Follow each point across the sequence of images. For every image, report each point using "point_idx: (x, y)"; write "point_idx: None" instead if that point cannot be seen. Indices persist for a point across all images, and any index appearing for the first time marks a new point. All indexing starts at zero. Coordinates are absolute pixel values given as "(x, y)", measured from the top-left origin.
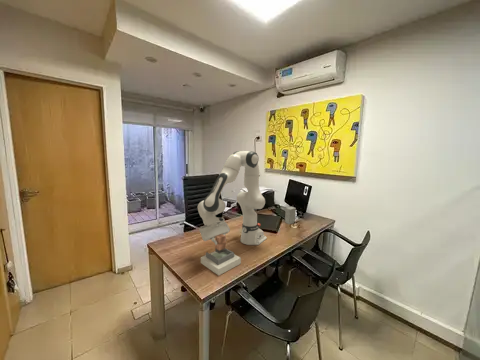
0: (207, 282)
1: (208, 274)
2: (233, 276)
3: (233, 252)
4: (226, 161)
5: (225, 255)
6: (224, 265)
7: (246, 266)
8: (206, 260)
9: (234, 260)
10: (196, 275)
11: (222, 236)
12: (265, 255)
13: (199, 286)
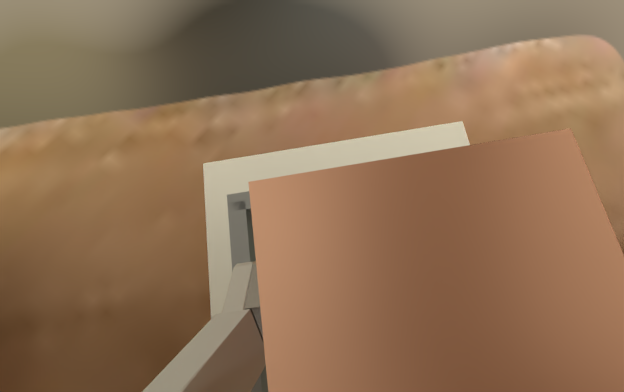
0: (541, 124)
1: None
2: (357, 89)
3: (229, 203)
4: None
5: None
6: (392, 140)
7: (215, 131)
8: None
9: (275, 158)
10: None
11: (386, 208)
12: (3, 167)
13: (605, 116)
